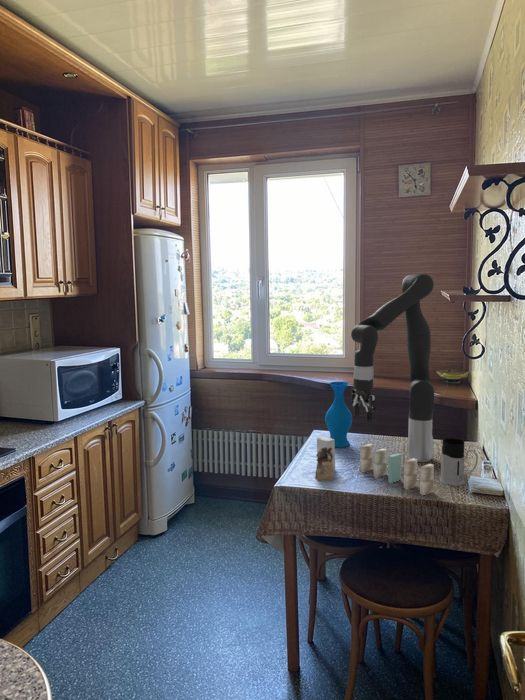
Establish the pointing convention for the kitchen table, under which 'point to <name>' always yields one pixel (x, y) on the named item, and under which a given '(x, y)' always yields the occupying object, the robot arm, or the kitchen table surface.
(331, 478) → the figurine
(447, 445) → the grey black pitcher
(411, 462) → the domino
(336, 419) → the vase
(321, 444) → the skincare box
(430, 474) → the domino
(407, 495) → the kitchen table surface
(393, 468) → the domino
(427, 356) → the robot arm
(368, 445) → the domino
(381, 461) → the domino
